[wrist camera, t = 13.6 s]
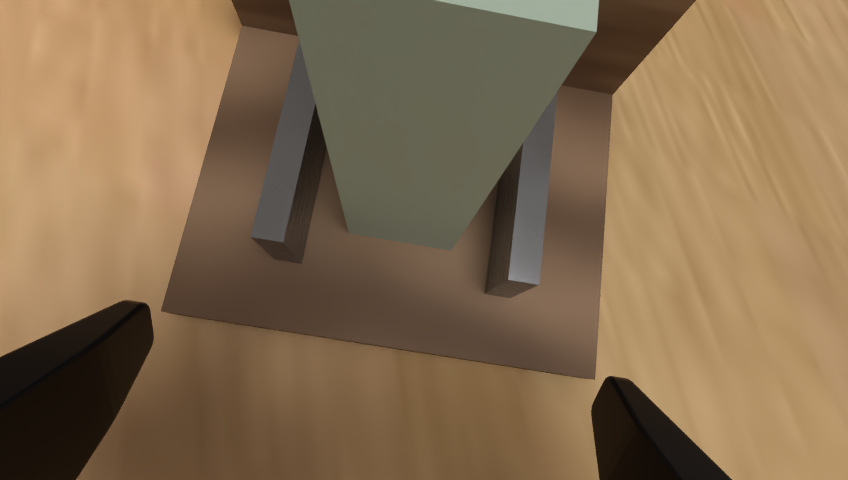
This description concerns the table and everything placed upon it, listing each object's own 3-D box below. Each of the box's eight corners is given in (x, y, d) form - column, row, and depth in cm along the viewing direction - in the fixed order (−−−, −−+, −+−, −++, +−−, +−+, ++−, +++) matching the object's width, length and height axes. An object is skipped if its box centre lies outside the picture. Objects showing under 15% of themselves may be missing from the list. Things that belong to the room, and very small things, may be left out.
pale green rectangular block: (451, 250, 19) (596, 31, 6) (349, 233, 19) (281, -30, 6) (471, 112, 20) (621, -293, 8) (376, 94, 20) (369, -351, 7)
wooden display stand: (583, 378, 19) (696, 390, 12) (172, 313, 18) (49, 287, 11) (604, 67, 22) (701, -58, 16) (259, 2, 22) (203, -160, 15)
